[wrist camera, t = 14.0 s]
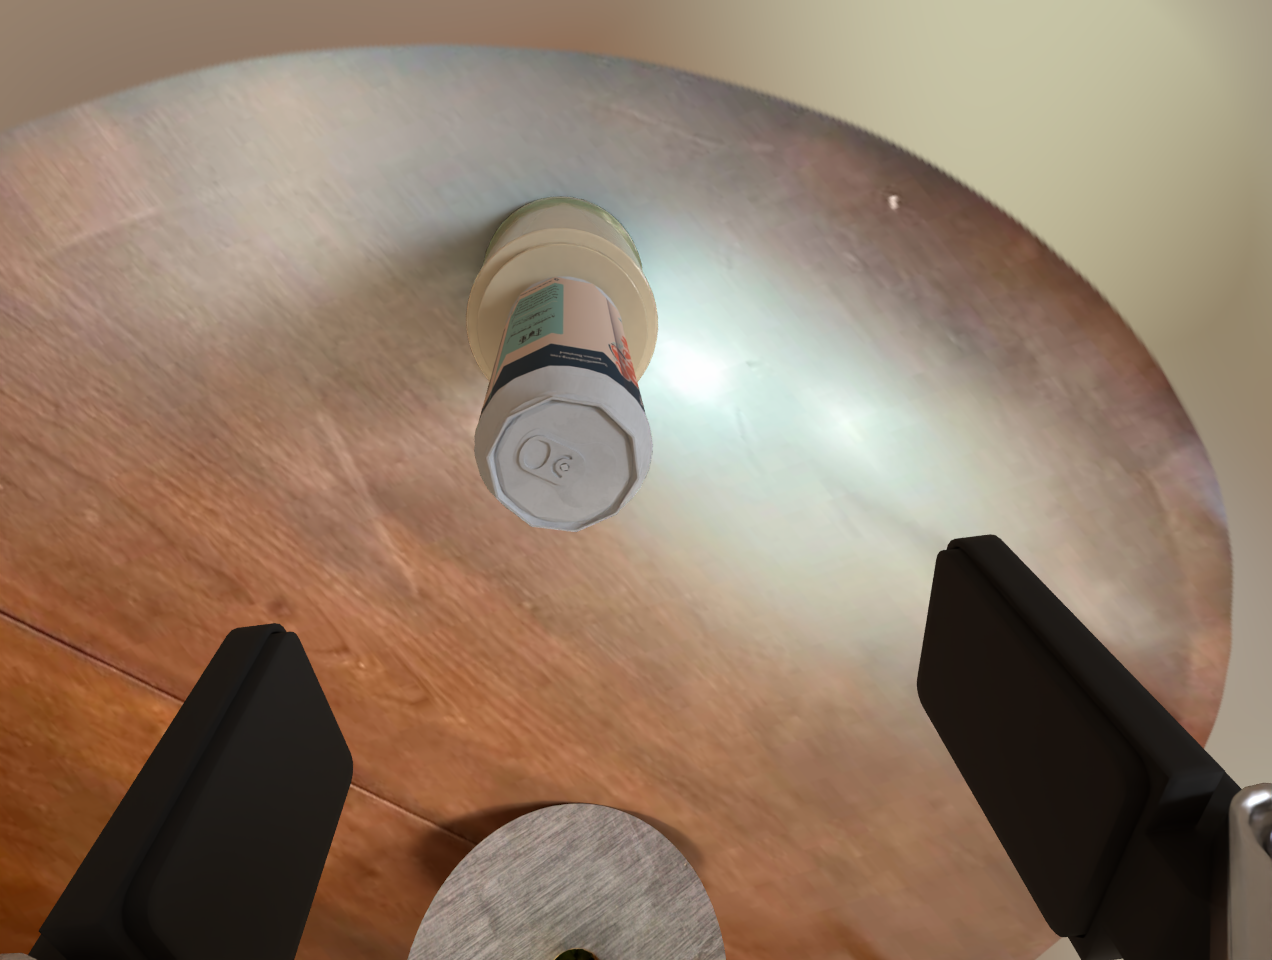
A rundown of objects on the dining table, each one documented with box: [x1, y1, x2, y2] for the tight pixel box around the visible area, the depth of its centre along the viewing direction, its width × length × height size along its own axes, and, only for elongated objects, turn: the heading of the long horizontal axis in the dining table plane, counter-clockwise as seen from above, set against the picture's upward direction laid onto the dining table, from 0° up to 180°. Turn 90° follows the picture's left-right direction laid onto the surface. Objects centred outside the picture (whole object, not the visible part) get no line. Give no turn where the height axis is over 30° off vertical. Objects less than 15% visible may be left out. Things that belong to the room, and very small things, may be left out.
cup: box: [466, 196, 658, 382], centre depth 32 cm, size 8×8×10 cm
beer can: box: [474, 276, 653, 532], centre depth 23 cm, size 5×5×12 cm
